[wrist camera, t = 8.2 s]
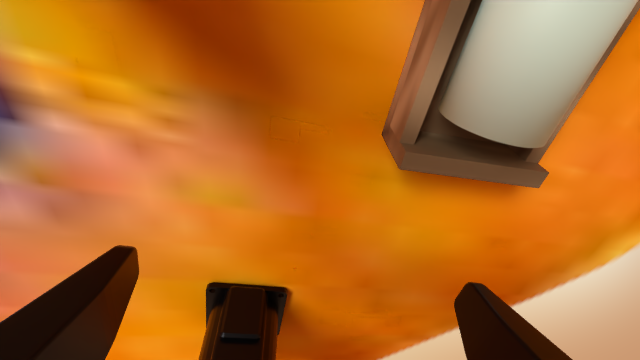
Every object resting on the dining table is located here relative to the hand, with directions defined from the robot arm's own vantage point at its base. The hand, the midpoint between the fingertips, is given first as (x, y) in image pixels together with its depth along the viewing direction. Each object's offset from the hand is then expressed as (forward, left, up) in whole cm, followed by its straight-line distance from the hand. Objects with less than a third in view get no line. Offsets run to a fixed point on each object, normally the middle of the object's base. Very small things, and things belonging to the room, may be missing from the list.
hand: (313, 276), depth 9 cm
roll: (+6, -9, -11) cm, 15 cm away
